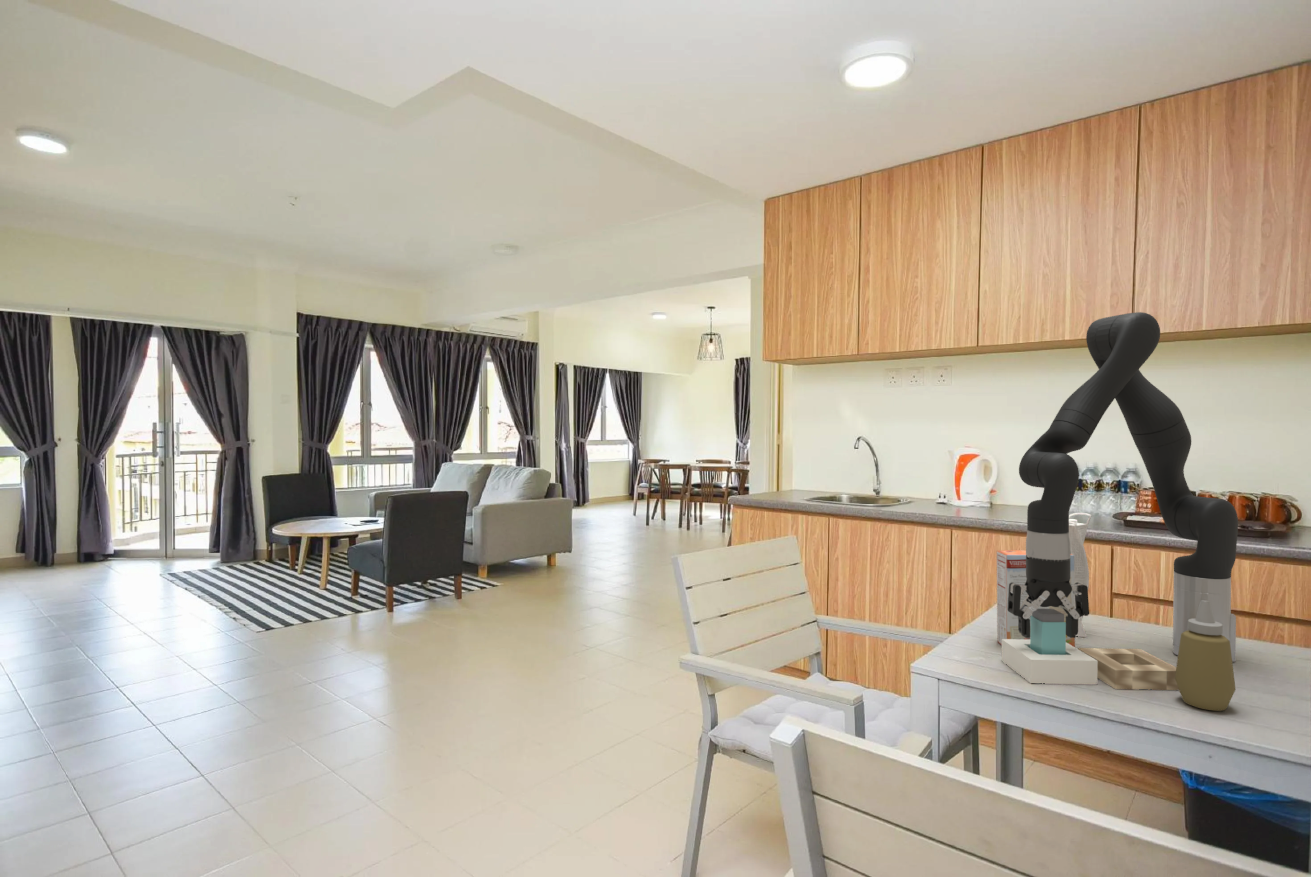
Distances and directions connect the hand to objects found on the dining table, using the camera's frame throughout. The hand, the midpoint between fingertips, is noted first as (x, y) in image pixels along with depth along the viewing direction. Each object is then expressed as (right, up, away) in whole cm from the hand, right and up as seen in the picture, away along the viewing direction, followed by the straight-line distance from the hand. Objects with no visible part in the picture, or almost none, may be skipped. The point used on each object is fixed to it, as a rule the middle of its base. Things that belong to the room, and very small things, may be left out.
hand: (1047, 636), depth 130 cm
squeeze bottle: (+18, -7, -15) cm, 25 cm away
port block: (0, -7, 0) cm, 7 cm away
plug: (0, -7, 0) cm, 7 cm away
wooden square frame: (+14, -7, -3) cm, 16 cm away
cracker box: (+6, -7, +15) cm, 17 cm away
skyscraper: (+19, -7, +24) cm, 31 cm away
